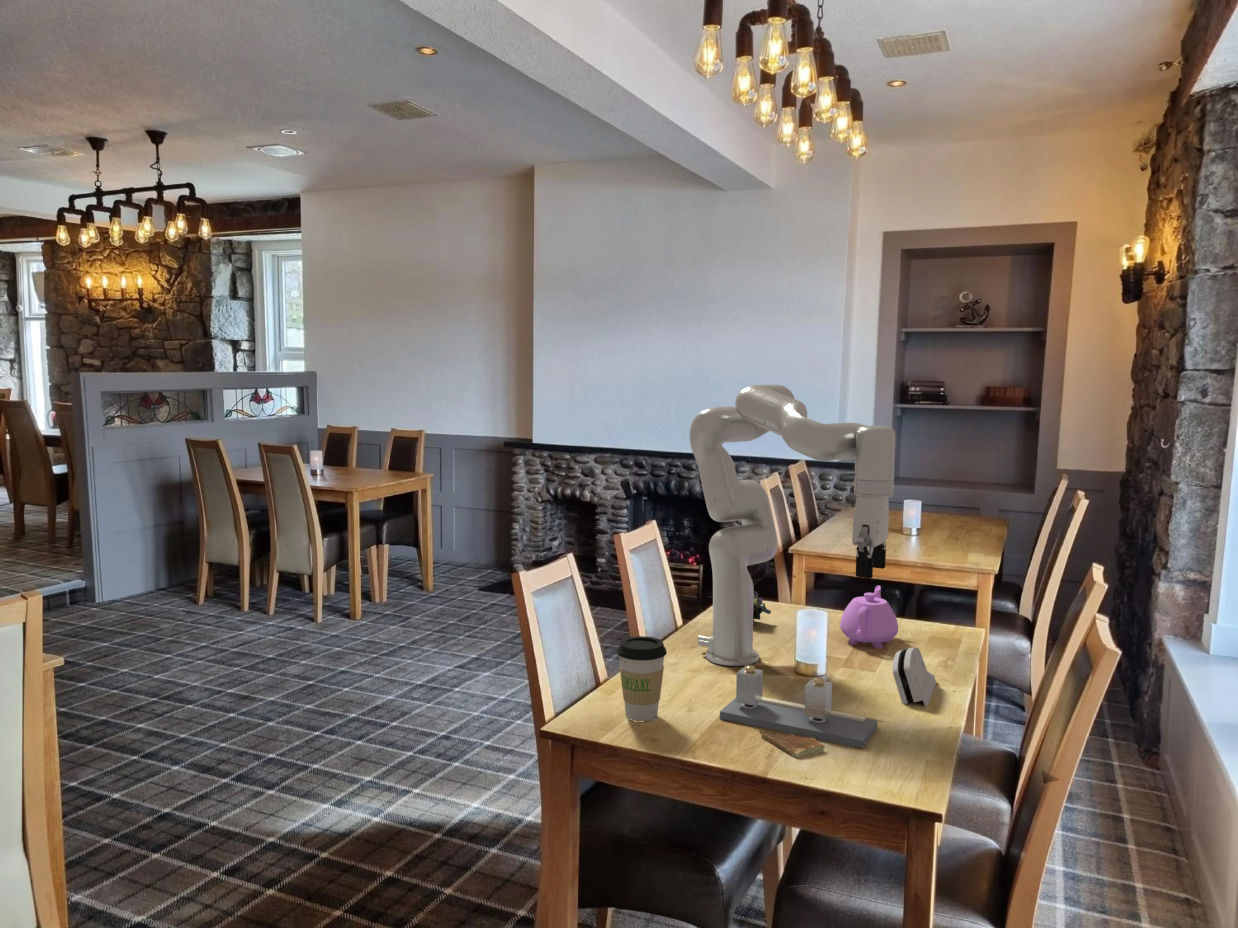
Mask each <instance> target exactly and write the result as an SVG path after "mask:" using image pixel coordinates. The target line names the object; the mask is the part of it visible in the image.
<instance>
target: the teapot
mask: <svg viewBox="0 0 1238 928" xmlns="http://www.w3.org/2000/svg"><path fill="white" fill-rule="evenodd" d="M881 590H882V587H881V585H876V586H875V587H874V592H865V593H864V594H863V596H856V597H854V598H852V600H851V601H850V602H849V603H848V604H847V605H846V607H845V609H844V610H843V613H842V615H841V619H840V621H839V627H840V630H841V631H842V633H843V634H844V636H846V638H848V639H849V641H848V644H849V643H850V644H849V645H852V644H854V646H855V645H856V644H857V645H859V644H858V643H860V642H862V643H871V644H872V647H873V648H874V649H883V648H884V645H883V644H882V643H888V642H889V641H892V640H893V639H894V638H895V637H896V636H897V635H898V633H899V624H898V618H897V617H896V614H895V613H894V612H895V611H893V608H892V607H891V606H890V604H889V602H888V601H887V600H886V599H884V598H882V597H881V596H882V595H881V592H882V591H881Z"/></svg>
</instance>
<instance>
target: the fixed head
mask: <svg viewBox="0 0 1238 928" xmlns="http://www.w3.org/2000/svg"><path fill="white" fill-rule="evenodd" d="M763 675H764V670H763V669H758V668H756V667H755V665H753V664H750V665H744V667H743V666H742V668H741V669H740V670H738V671H737V672H736V689H735V690H736V691H735V693H736V694H735V695H736V696H735V698H736V702H738V703H743V704H748V705H754V706H756V705H757V704H758V703H759V702H760V701H761V700H762V697H763V690H764V689H763V685H764V684H763V683H764V681H763V680H764V678H763V677H764V676H763Z"/></svg>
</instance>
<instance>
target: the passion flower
mask: <svg viewBox="0 0 1238 928" xmlns="http://www.w3.org/2000/svg"><path fill="white" fill-rule="evenodd" d="M762 613H765V614H767V615H770V614H772V611H771V610H770V609H768V608H767V607H766V603H765V602H764V599H763V598H762V597H759V594H758V592H757V591H753V622H754V620H759V621H760V620H761V614H762Z"/></svg>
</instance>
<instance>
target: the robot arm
mask: <svg viewBox="0 0 1238 928" xmlns="http://www.w3.org/2000/svg"><path fill="white" fill-rule="evenodd" d="M769 432H772V433H773V434H775V435H778V436H781V437H782V440H783V441H784V443H785V444H786V445H787V447H789V448H790V449H792V450H793V451H794V452H797V453H798V454H799V453H800V454H801V455H803V456H806V457H808V458H810V459H813V460H815V461H816V460H817V461H820V462H832V461H833V462H834V461H841V460H843V461H845V460H854V478H853V479H854V483H853V487H854V488H853V495H854V496H856V499H855V503H854V504H855V506H854V513H853V514H854V515H853V523H852V537H851V542H852V545H854V546H856V549H855V550H856V553H855V558H856V559H855V576H856V578H861V579H862V578H863V579H872V578H873V576H874V575H873V574H874V569H881V570H883V569H885V568H886V562H887V561H886V557H887V556H886V555H887V549H886V548H887V542H886V541H887V539H888V538H889V536H888V535H889V523H890V522H889V519H890V518H889V512H890V510H889V505H890V503H889V498H892V497H893V496H894V488H895V487H894V483H895V457H896V456H895V455H896V453H895V452H896V432H895V430H894V428H893V427H890V426H885V425H866V424H863V423H858V422H838V423H837V422H835V423H834V422H833V423H822V422H818V421H817V420H813V419H810V418H808V410H807V407H806V404H804V402H802V401H800V400H798V399H796V398H795V396H794V393H793V392H792V391H791V390H790V389H789V388H788V387H787V386H784V385H780V384H752V385H748V386H746V387H744V388H742V390H740V391H739V393H738V394H737V395H736V398H735V405H734V406H716V407H715V406H714V407H709V408H706V409H703V410H701V411H700V412H699V413H697V415H696V416H694V418H693V420H692V422H691V425H690V429H689V443H690V444H689V445H690V447H691V450H692V454H693V456H694V459H695V462H696V464H697V468H698V472H699V477H700V482H701V485H702V491H703V495H704V500H705V504H706V509H707V512H708V515H709V517H710V518H711V519H712V520H713V521H715V522H718V523H727V522H728V523H729V522H736V521H740V522H741V525H736V526H730V527H725V528H722V529H720V530H717V531H716V532H715V533H714V534H713V535H712V536H711V538H710V540H709V543H708V552H709V558H710V563H711V570H712V635H711V636H707V635H702V634H701V635H698V637H697V643H698V646H700V647H707V650H706V652H705V658H706V659H707V660H708V661H709V662H711V663H714V664H717V665H721V666H726V667H727V666H728V667H741V666H742V667H743V666H744V667H745V666H746V665H753V664H755V663H757V662H759V660H760V653H759V652H758V651H757V650H755V649H754V648H753V647H754V646H753V645H754V643H753V642H754V638H753V637H754V621H753V592H754V583H753V579H752V576H751V574H750V573H749V570H748V566H752V565H757V564H761V563H765V562H768V561H770V560H772V559H773V558H774V557H775V556H776V553H777V551H778V537H777V531H776V527H775V522H774V517H773V513H772V509H771V508H772V507H771V503H770V500H769V497H768V494H767V492H766V490H765V488H763V486H762V484H760V483H759V482H757V481H755V480H752V479H742V480H739V479H738V475H737V472H736V471H737V470H736V467H735V466H736V465H735V463H734V460H733V458H732V457H731V455H730V453H729V452H728V450H727V449H725V447H724V446H723V444H724V443H739V442H740V443H741V442H749V441H754V440H757V439H758V438H761V437H762V436H763V435H765V434H767V433H769Z"/></svg>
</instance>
